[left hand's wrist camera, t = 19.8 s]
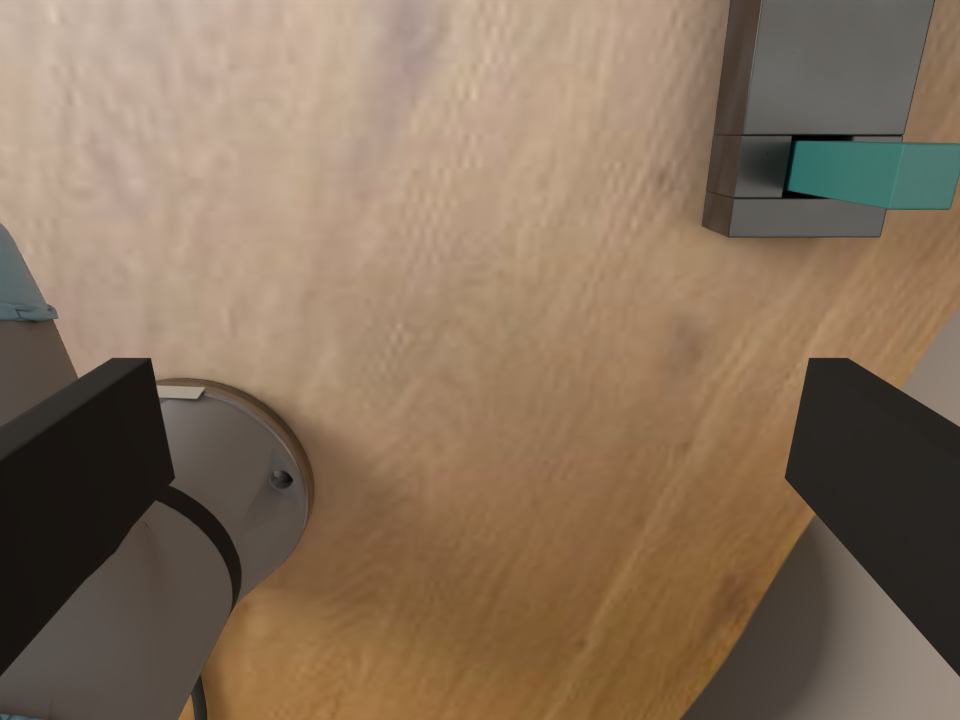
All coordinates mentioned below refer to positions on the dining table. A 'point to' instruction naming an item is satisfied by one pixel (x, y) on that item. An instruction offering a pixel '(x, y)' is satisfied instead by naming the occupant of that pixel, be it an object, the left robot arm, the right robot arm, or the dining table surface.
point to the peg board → (807, 106)
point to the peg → (876, 172)
